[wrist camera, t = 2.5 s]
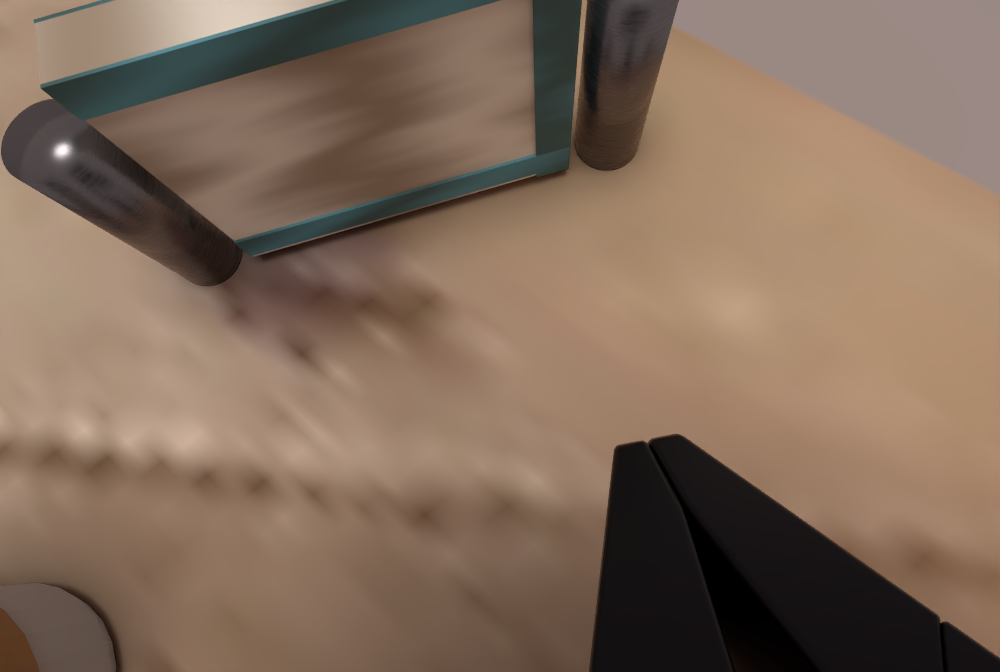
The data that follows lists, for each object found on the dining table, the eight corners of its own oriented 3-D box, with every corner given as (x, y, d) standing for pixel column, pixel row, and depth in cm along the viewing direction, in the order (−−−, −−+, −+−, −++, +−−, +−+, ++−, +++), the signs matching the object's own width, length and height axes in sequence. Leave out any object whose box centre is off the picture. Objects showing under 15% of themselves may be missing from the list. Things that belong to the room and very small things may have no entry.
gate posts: (184, 293, 23) (4, 194, 15) (175, 236, 24) (-2, 113, 16) (647, 159, 23) (699, -6, 15) (626, 106, 24) (666, -79, 16)
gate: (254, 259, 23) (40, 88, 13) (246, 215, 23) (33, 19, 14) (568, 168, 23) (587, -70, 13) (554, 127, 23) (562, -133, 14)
